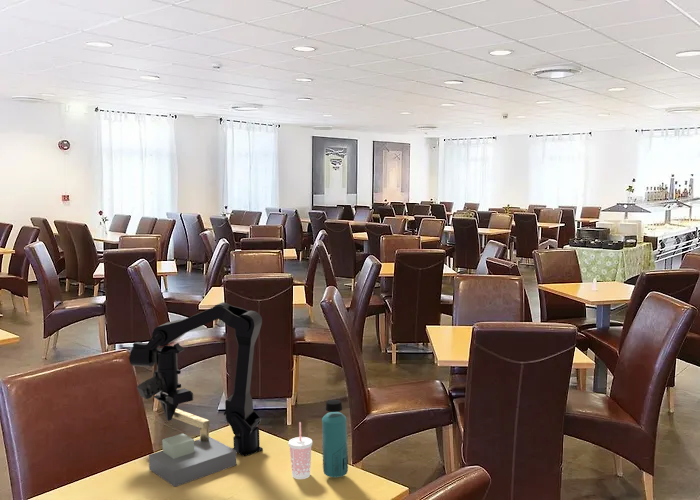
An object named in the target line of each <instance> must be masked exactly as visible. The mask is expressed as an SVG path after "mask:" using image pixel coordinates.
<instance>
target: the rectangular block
mask: <svg viewBox="0 0 700 500" xmlns="http://www.w3.org/2000/svg"><path fill="white" fill-rule="evenodd" d="M194 441H195V439H194V438H192V437H190V436H189V435H187V434H184V433H179V434H175V435H173V436H169V437H166V438H163V439H162V442H161V443H162V451H163V453H165V454H167V455H168V456H170V457H171V458H173V459H175V458H178V457H181V456H184V455H187V454H190V453H193V452H194Z"/></svg>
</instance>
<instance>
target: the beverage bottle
mask: <svg viewBox="0 0 700 500" xmlns="http://www.w3.org/2000/svg"><path fill="white" fill-rule="evenodd" d="M342 405H343V404H342V401H341V400H339V399H329V400H327V401H326V402H325V411H327V413H326V414H324V416H323V417H322V419H321V425H322V426H321V427H322V430H321V431H322V447H321V448H322V456H321V457H322V470H323V474H324V475H325V476H327V477H329V478H341V477H344V476H346V475H347V474H348V470H349V458H348V452H349V451H348V431H347V429H348V427H347V417H346V415H345V414H343V413H342V412H341V411H342V410H343V406H342Z"/></svg>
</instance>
